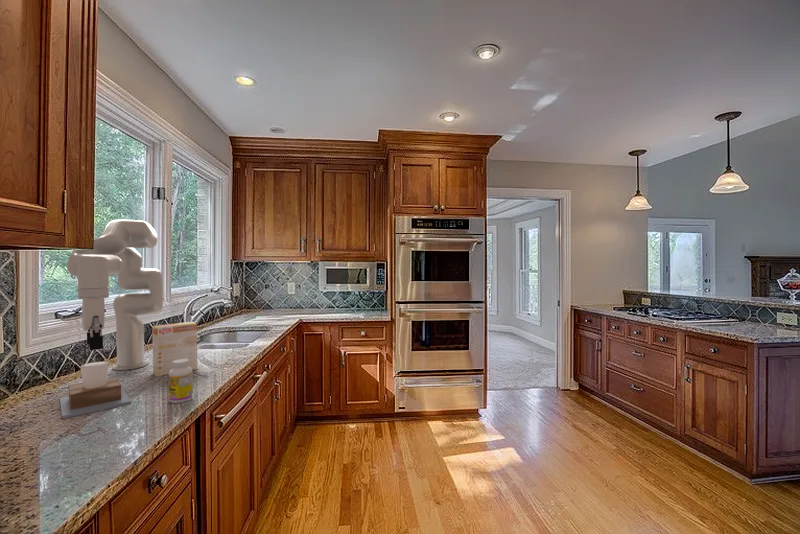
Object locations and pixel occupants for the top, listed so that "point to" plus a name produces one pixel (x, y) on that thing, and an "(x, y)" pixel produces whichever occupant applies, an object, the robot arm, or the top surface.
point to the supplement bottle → (180, 382)
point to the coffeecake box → (174, 346)
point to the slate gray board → (67, 412)
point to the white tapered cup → (94, 374)
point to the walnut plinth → (94, 394)
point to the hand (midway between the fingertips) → (94, 346)
